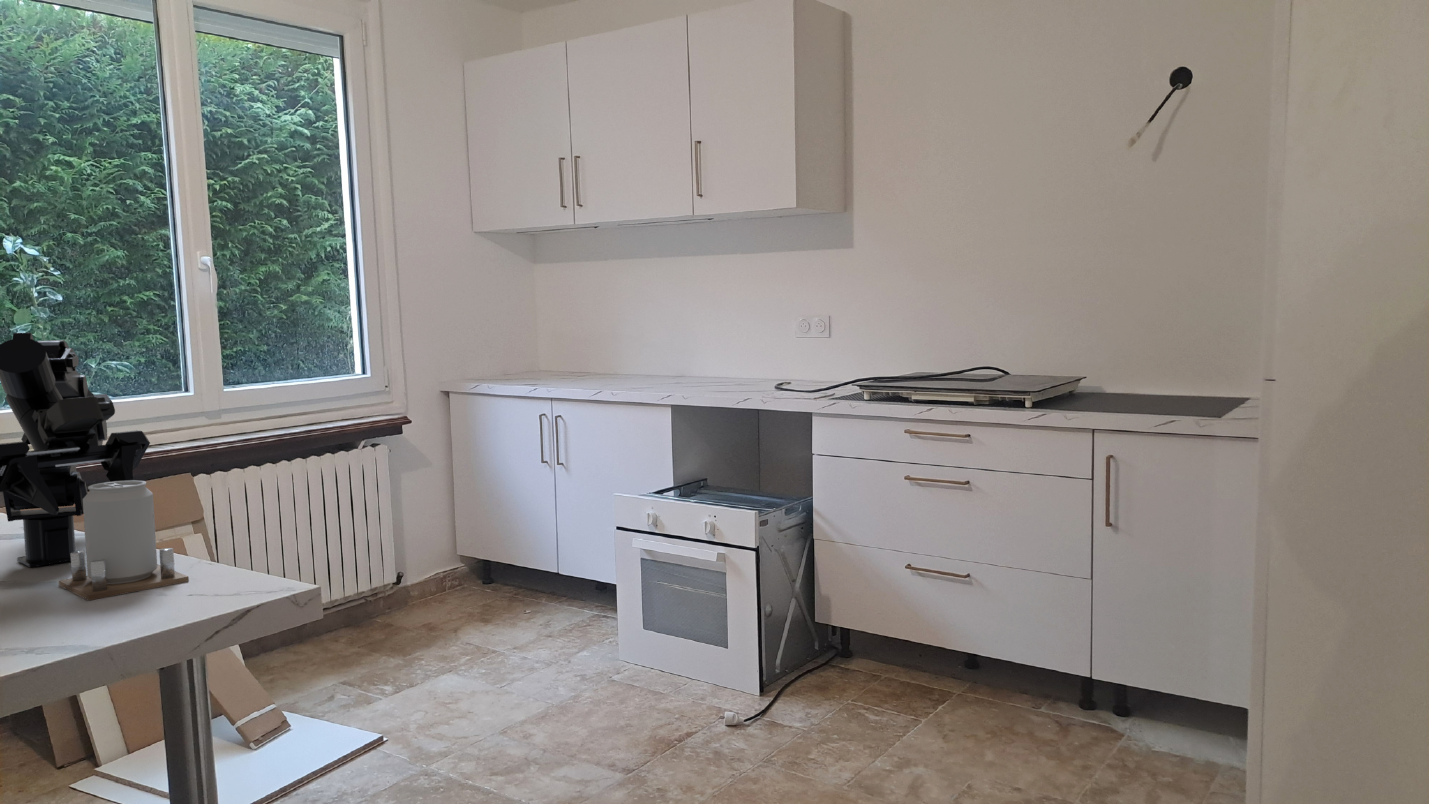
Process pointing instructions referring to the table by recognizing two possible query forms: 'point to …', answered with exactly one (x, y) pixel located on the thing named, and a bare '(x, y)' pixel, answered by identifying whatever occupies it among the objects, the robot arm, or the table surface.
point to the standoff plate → (101, 589)
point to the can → (120, 530)
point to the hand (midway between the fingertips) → (95, 506)
